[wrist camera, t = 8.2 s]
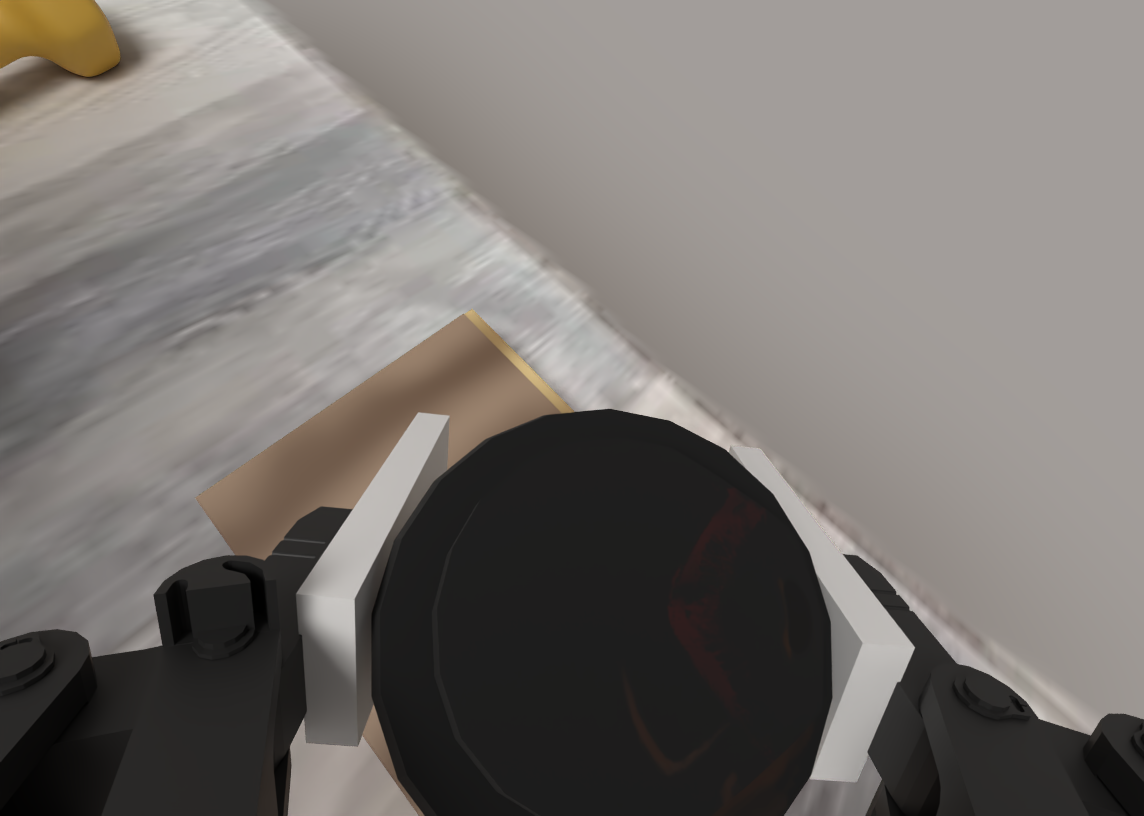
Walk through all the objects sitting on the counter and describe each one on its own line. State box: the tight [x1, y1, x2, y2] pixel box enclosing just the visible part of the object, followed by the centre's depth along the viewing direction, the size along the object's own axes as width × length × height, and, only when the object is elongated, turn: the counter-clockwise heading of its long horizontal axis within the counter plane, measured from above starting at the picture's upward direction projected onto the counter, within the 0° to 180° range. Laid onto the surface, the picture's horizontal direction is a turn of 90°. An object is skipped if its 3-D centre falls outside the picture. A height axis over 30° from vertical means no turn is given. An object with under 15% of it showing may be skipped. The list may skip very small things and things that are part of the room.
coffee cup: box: [371, 409, 833, 816], centre depth 12 cm, size 7×7×10 cm
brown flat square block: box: [196, 309, 574, 816], centre depth 29 cm, size 18×17×4 cm
